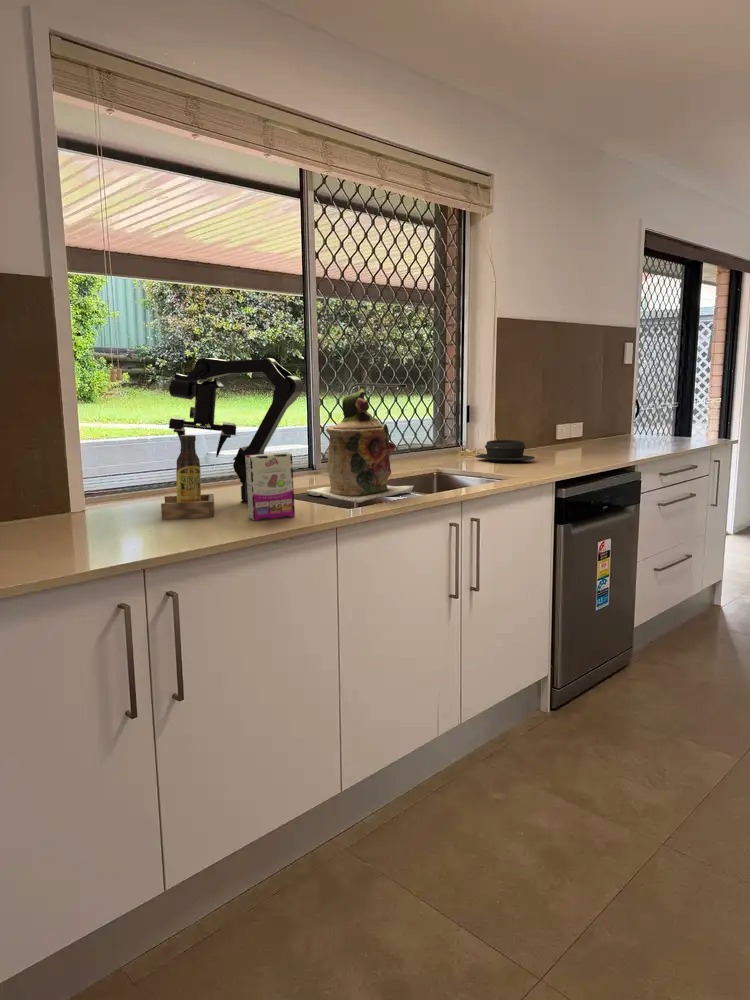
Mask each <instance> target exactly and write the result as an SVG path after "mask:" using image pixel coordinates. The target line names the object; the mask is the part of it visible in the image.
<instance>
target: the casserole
mask: <svg viewBox="0 0 750 1000" xmlns="http://www.w3.org/2000/svg"><path fill="white" fill-rule="evenodd" d="M526 447H527V446H526V445H525V442H524V441H522V440H517V439H516V440H515V439H496V440H495V439H494V440H487V441H486V444H485V445H484V448H485V449H486V453H482V454H477V455H476V456H475V457H476V459H477V458H478V459H485V460H489V461H490V462H492V463H501V464H503V463H505V464H506V463H507V464H508V463H509V464H511V463H512V464H513V463H518V462H521V461H528V460H534V459H535V458H536V457H535V456H532V455H524V453H525V449H526Z"/></svg>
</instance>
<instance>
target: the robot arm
mask: <svg viewBox="0 0 750 1000" xmlns="http://www.w3.org/2000/svg"><path fill="white" fill-rule="evenodd" d="M254 373H257V374H258V373H264V375H265V376H266V377H267V379H268V380H269V382H270V383H271V384H272V385H274V390H273V391H272V394H273V395H272V401H271V404H270V406H269V408H268V409H267V412H266V413H265V414H264V415H265V416H264V417H263V418H262V420H261V422H260V425H259V426H258V427H257V430H256V432H255V434H254V435H253V438H252V439H251V442H250V443H249V444H248V445H246V446H241V447H239V448H238V451H237V454H236V455H235V457H234V458H232V460H233V465H232V467H233V471H234V472H235V474H236V475H237V477H238V479H239V482H240V483H241V486H240V497H241V498H240V499H241V500H240V504H248V493H247V475H246V460H245V456H246V455H258V454H265V450H266V448H267V446H268V444H269V442H270V440H271V439H272V437H273V435H274V433H275V432H276V429H277V428H278V426H279V424H280V422H281V420H282V418H283V416H284V415H285V413H286V411H287V409H288V408H290V406H292V405H293V404H294V403H295V402H296V401H297V399H298V398H299V397H300V396H301V394H302V393H303V391H304V383H303V381H302V380H301V378H299V377H298V376H296V375H293V374H292V373H291V372H290V371H288V370H287V369H285V368H284V367H283V366H282V365H280V364H279V363H278V362H277V361H276V359H274V358H270V357H265V358H264V357H263V358H261V359H260V358H258V359H256V358H255V359H243V360H242V359H240V360H239V359H237V360H235V359H234V360H226V359H220V358H214V357H213V358H212V357H209V358H208V357H200V358H198V359H197V361H196V362H195V364H194V367H193V369H192V370H191V371H190V372H189V373H188V374H187V375H184V374H181V373H174V375H173V378H172V379H171V382H170V384H169V385H168V386H169V387H168V391H169V395H170V396H171V397H174V398H178V399H184V400H193V399H194V398H195V399H194V406H190V410H189V419H192V420H193V421H191V420H190V421H188V420H186V418H185V417H178V416H177V417H176V416H172V417H171V418H170V419H169V422H168V429H171V430H173V432H174V433H177V436H178V438H179V440H180V435H186V428H187V429H188V428H190V429H199V430H208V431H217V432H220V437H219V440H218V445H217V448H216V453H215V454H216V456H215V457H216V458H218V457H219V454H220V452H221V450H222V448H223V446H224V444H225V443H226V441H227V439H228V438H229V439H230V438H232V436H236V434H237V424H235V422H234V423H232V422H223V421H222V424H217V423H215V413H216V412H215V411H216V402H217V389H224V388H225V386H224V384H223V383H222V382H221V381H220V379H218V378H221V377H225V376H228V375H232V374H234V375H235V374H254ZM209 379H214V380H213V381H212V380H209ZM198 381H202V382H198Z"/></svg>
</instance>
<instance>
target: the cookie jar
mask: <svg viewBox="0 0 750 1000" xmlns="http://www.w3.org/2000/svg"><path fill="white" fill-rule="evenodd" d="M359 389H360V390H359V391H358V392H353V393H350V394H348V395H346V396H345V397H343V399H342V403H341V406H342V407H341V410H342V413H343V420H342V421H340V422H338V423H337V424H335V425H330V426H328V427H326V429H325V431H326V433H327V434H328V435H329V441H328V442H329V445H328V447H327V448H328V449H327V450H328V455H327V460H328V461H327V465H326V467H327V474H328V479H329V483H330V486H324V487H323V486H322V487H318V488H313V489H307V490H306V493H307V494H308V496H309V495H311V496H315V497H317V496H318V497H319V496H320V497H325V498H328V499H333V500H341V501H347V502H353V503H359V504H360V503H363V502H365V501H371V500H374V499H377V498H386V497H387V498H388V497H391V496H392V497H393V496H396V495H401V494H406V493H407V494H408V493H411V492H412V491H413V488H414V485H402V486H401V485H400V486H395V485H394V486H393V485H388V479H389V477H390V476H391V475H392V468H391V461H390V458H391V456H392V455H393V453H394V451H395V450H396V448H397V447H396V444H395V443H394V442H391V441H390V438H389V432H390V431H389V427H388V425H387V424H386V423H383V424H382V423H381V422H380V421H379V419H377V418H376V417H374V416H373V415H372V414H371V413H370V412H369V409H370V405H369V402H368V400H367V399H365V394H366V392H365V389H364V388H359Z"/></svg>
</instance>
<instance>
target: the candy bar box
mask: <svg viewBox="0 0 750 1000" xmlns="http://www.w3.org/2000/svg"><path fill="white" fill-rule="evenodd" d="M245 460H246V475H247V493H248V503H247V508H248V519H250V520H252V521H254V522H257V521H258V522H259V521H267V520H268V521H269V520H277V519H283V518H284V519H285V518H291V517H292V518H294V517H295V516H296V515H295V514H296V513H295V512H296V511H295V508H296V507H295V492H294V491H295V488H294V469H293V454H292V453H290V452H288V451H287V452H272V453H271V452H270V453H264V454H258V455H246V456H245Z"/></svg>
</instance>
